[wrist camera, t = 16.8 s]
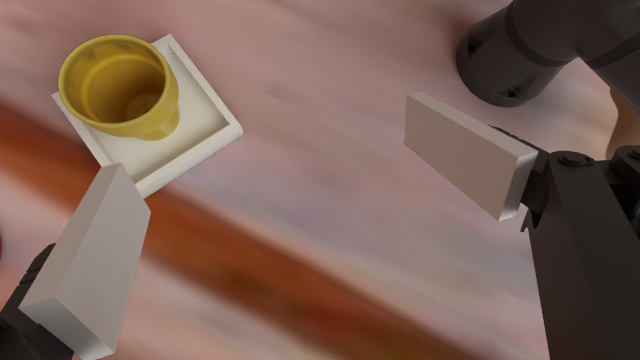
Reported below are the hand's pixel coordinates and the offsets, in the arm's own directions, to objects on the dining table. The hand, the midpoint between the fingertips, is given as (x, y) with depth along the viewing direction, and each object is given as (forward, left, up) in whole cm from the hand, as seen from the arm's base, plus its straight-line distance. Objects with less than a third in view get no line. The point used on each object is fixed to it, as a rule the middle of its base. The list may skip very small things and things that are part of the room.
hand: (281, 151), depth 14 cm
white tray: (+5, -20, -27) cm, 33 cm away
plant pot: (+6, -20, -26) cm, 33 cm away
